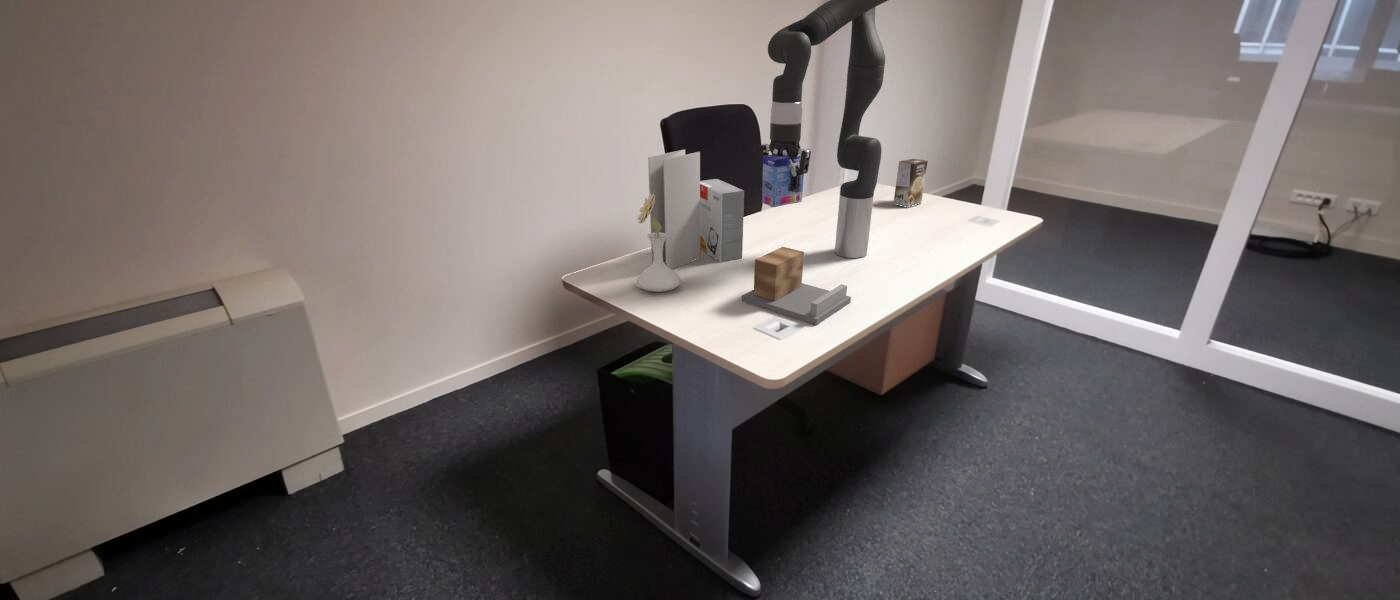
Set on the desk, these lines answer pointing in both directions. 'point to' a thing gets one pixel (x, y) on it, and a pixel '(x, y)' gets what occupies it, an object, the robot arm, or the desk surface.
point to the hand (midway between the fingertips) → (782, 188)
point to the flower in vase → (656, 257)
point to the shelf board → (804, 303)
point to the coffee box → (910, 182)
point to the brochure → (676, 204)
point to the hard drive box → (721, 220)
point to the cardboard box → (778, 273)
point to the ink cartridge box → (779, 181)
